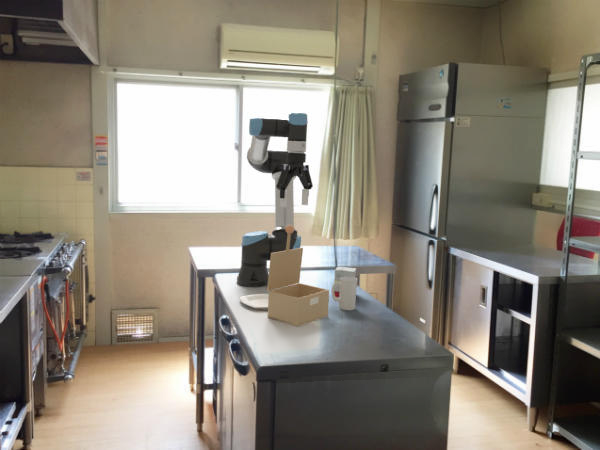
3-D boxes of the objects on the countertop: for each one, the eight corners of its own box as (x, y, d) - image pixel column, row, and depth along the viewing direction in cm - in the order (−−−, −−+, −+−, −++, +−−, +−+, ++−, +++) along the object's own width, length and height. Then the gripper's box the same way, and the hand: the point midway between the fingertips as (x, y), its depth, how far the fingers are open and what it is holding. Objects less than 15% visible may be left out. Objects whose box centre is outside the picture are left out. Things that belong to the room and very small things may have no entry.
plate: (251, 313, 212) (252, 308, 211) (233, 300, 229) (233, 295, 228) (297, 309, 220) (297, 304, 220) (276, 296, 237) (277, 292, 237)
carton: (267, 317, 206) (268, 291, 205) (298, 308, 220) (299, 283, 219) (297, 326, 198) (299, 298, 196) (327, 316, 212) (329, 290, 210)
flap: (270, 291, 204) (264, 289, 206) (301, 283, 218) (295, 281, 220) (277, 228, 200) (270, 226, 202) (308, 224, 214) (302, 222, 216)
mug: (352, 305, 227) (354, 276, 226) (357, 310, 221) (359, 280, 219) (328, 306, 225) (330, 276, 224) (332, 310, 219) (334, 280, 217)
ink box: (352, 298, 238) (354, 271, 236) (332, 297, 240) (334, 269, 238) (355, 293, 246) (356, 267, 245) (335, 292, 248) (337, 265, 246)
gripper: (283, 152, 212) (281, 208, 215) (322, 153, 231) (320, 205, 234) (268, 151, 216) (266, 206, 219) (308, 152, 236) (305, 203, 239)
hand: (294, 205), depth 227 cm, fingers open, 13 cm apart
